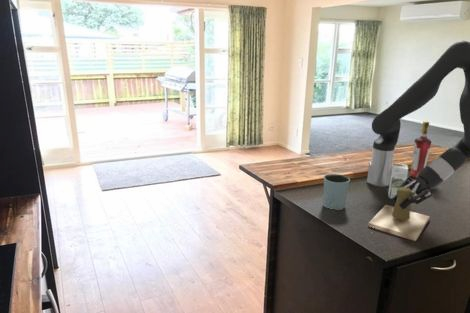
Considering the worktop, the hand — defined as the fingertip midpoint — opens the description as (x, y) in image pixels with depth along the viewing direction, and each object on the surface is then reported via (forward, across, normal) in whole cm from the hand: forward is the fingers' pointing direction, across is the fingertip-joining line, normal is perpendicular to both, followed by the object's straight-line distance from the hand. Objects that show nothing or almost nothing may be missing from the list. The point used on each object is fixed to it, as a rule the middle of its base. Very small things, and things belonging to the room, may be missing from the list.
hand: (397, 203), depth 132 cm
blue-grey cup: (+18, -15, -7) cm, 25 cm away
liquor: (-18, -48, +29) cm, 59 cm away
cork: (+2, 0, +5) cm, 6 cm away
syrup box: (-2, -24, +14) cm, 27 cm away
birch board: (+4, 0, +7) cm, 8 cm away
